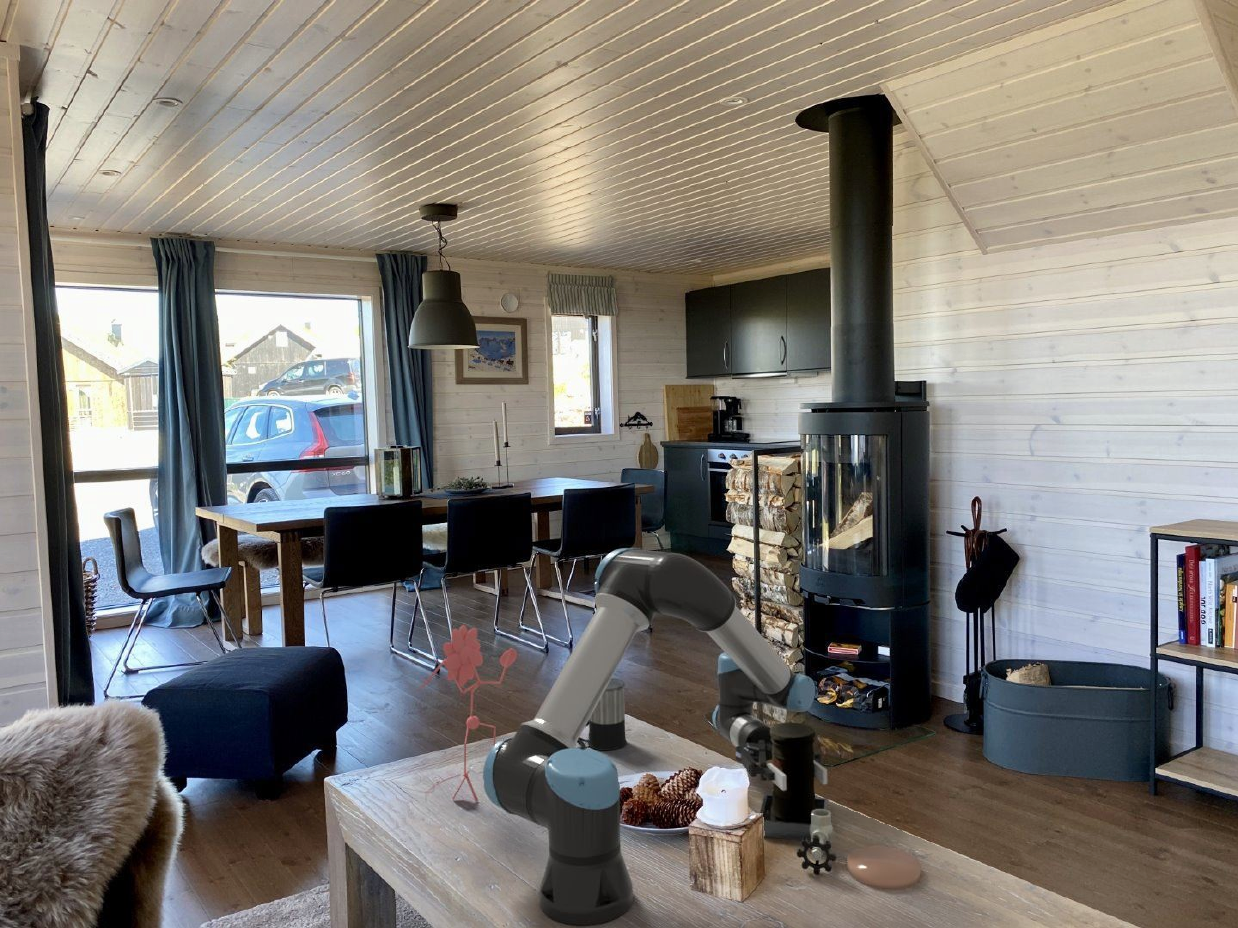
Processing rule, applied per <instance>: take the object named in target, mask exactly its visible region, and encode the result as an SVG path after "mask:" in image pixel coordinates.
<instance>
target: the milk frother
mask: <svg viewBox="0 0 1238 928" xmlns="http://www.w3.org/2000/svg"><path fill="white" fill-rule="evenodd" d="M625 686H626V681H624V680H622V679H619V678H615V677H612V678H611V680H610V682H609V684H608V685H607V687H606V689H605V691H604V693H603V695H602V697H601V698H600V700H599V702H598V704H597V706H596V708H595V709H594V711H593V713H592V715H591V717H590V719H589V720H588V722H587V724H586V726H585V728H586V727H588V728H589V729H588V739H584V738H583V737H581V736H580V737H579V739H578V741H577V743H576V744H578V745H579V748H580V749H581V750H585V749H587V745H586V743H587V744H588V746H589V747H590V748H592V749H595V750H599V751H615V750H618V749H621V748H623V747H625V746H627V738H626V737H627V736H626V724H625V723H626V722H625V721H626V719H625V718H626V717H625V716H626V715H625V713H626V712H625V711H626V710H625V709H626V708H625V706H626V703H625V699H626V698H625V696H626V695H625Z"/></svg>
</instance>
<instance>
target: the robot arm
mask: <svg viewBox="0 0 1238 928" xmlns="http://www.w3.org/2000/svg"><path fill="white" fill-rule="evenodd" d="M594 579H596V581H595V582H594V590H595V593H596V595H595V597H594V598H593V599H594V603H595V606H596V611H595V613H594V614H593V616H592V617H591V619H590V621H589V622H588V624H587V626H586V627H585V629H584V631H583V633H582V635H581V636H580V639H579V640H578V642H577V643H576V645H575V646H574V649H573V650H572V652H571V653H570V656H569V658H568V659H567V661H566V663H565V665H564V666H563V668H562V669H561V671H560V673H559V674H558V676H557V678H556V679H555V682H554V683H553V685H552V687H551V688H550V690H549V692H548V694H547V696H546V697H545V700H544V701H543V703H542V704H541V706H540V707H539V710H538V711H537V713H536V715H535V717H534V718H533V719H532V720H528V721H525V722H522V723H521V724H520V725H519V728H518V729H517V731H516V732H515V734H514V735H513V736H511V737H506V738H503V739H502V740H499V741H497V742H495V745H494V744H493V746H492V747H491V748H490V750H489V752H488V754H487V755H486V757H485V761H484V764H483V769H482V780H483V789H484V792H485V794H486V796H487V798H488V799H489V801H491V803H493V804H494V805H495V806H496V807H498V808H501V809H502V810H503V811H505V812H506V813H507V814H509V815H515V816H518V817H520V818H522V819H525V820H527V821H529V822H531V823H534V824H536V825H539V826H540V827H543V828H545V829H547V831H548V850H549V851H548V854H549V855H548V860H547V862H546V866H545V869H544V873H543V877H542V879H541V883H540V887H539V905H540V908H541V910H542V912H543V913H544V914H545V915H546V916H548V917H549V918H551V919H553V920H554V921H557V922H559V923H562V924H563V923H564V924H567V925H574V926H575V925H576V926H588V925H589V926H590V925H598V924H602V923H605V922H607V923H608V922H609V921H614V919H617V918H619V917H621V916H622V915H624V914H625V913H626V912H627V911H628V910H630V908H631V906H632V905H633V902H634V888H633V887H634V886H633V882H632V878H631V876H630V873H629V870H628V868H627V865H626V861H625V859H624V856H623V855H622V845H621V785H620V783H619V772H618V769H617V768H618V767H617V766H616V764H615V762H614V761H613V760H612V759H611V758H610V757H608V755H606V754H604V753H602V752H599V751H596V750H593V749H589V748H586V749H585V750H581V749H580V748H581V747H577V744H578V743H577V741H578V739H579V737H580V738H581V735H582V733H583V731H584V730H585V728H586V727H587V726H586V724H587V722H588V720H589V719H590V717H591V715H592V713H593V711H594V709H595V708H596V706H597V704H598V702H599V700H600V698H601V697H602V695H603V693H604V691H605V689H606V687H607V685H608V684H609V682H610V680H611V678H613V676H614V674H615V673H616V671H617V669H618V667H619V665H620V663H621V661H622V660H623V658H624V656H625V654H626V652H627V651H628V648H629V646H630V645H631V644H632V641H633V640H634V638H635V635H636V634H637V633H638V632H642V631H645V630H648V628H649V627H650V625H651V623H652V621H653V619H654V617H655V616H656V615H657V614H658V615H664V616H671V617H675V618H678V619H682V620H684V621H686V622H687V623H690V624H691V625H692V626H693V628H694V629H696V630H697V631H699V632H701V633H706V634H708V636H709V637H710V638H711V639H712V640H713V641H714V642H715V643H716V644H717V645H718V646H719V648H721V650H722V651H723V652H722V653H720V655H718V659H717V661H718V663H717V664H718V665H717V671H716V672H717V673H716V674H717V689H718V703H717V704H718V705H716V707H715V709H714V710H713V712H712V724H713V727H714V728H715V729H716V731H717V732H718V733H719V735H720V736H721V737H722V738H724V739H726V740H727V741H729V743H731V745H733V746H734V747H735V760H736V761H738V762H739V763H741V764H742V767H744V768H746V769H747V770H746V769H745V770H746V771H747V773H748V774H749V776H750V777H752V778H755V777H757V775H760V781H763V782H765V781H769V782H770V781H771V782H772V784H773V783H775V784H776V785H777V786H778V787H779V788H780V789H781V790H783V791H784V790H786V775H785V774H784V773H782V772H781V771H780V770H779V769H778V768H776V767H775V766H774V765H773V762H769V763H767V761H773V754H772V749H773V743H772V740H771V738H772V737H771V735H770V729H771V727H769V726H768V725H767V724H765V723H764V722H763V721H762V720H760V719H759V718H757V716H755V715H754V703H758V704H762V705H768V706H771V707H775V708H778V709H783V710H785V711H788V712H791V711H792V712H798V713H805V712H807V711H808V710H809V709H810V708H811V707H812V705H813V702H814V699H815V696H816V687H815V683H814V681H813V679H812V678H811V677H810V676H807V675H804V674H802V673H801V672H799V673H795V672H794V671H793V670H792V669H791V668H790V667H789V666H788V665H787V663H786V661H784V659H782V658H781V656H780V655H779V654H778V653H777V652H776V651H775V650H774V648H773V647H772V645H770V644H769V643H768V641H767V640H766V639H765V638H764V637H763V635H762V634H761V633H760V632H759V631H758V630H757V629H756V627H755V626H754V625H753V623H751V621H750V620H749V619H748V618H747V617H746V616H745V614H744V613H743V612H742V611H741V610H740V609H739V607H738V606H737V601H736V596H735V595H734V594H733V593H732V591H731V590H730V589H729V587H727V585H726V584H725V583H724V582H723V581H722V580H721V579H720V578H719V577H717V575H716V574H714V573H713V572H712V571H711V570H710V569H708V568H707V567H706V566H705V565H703V564H702V563H700V562H699V561H697V560H695V559H694V558H692V557H690V556H687V555H684V554H682V553H677V552H676V553H675V552H665V551H656V550H655V551H654V550H647V549H646V550H645V549H643V548H639V547H629V548H627V547H625V548H618V549H615V550H613V551H611V552H610V553H608V554H607V555H606V556H605V557H603V559H602V560H601V561H600V563H599V565H598V566H597V569H596V572H595V575H594ZM585 726H586V727H585ZM813 750H814V749H813ZM822 758H823V755H822V753H820V752H819V751H816V750H814V779H816V780H817V781H818V782H819V783H820V784H822V785H828V769H827V768H826V767H825V766H824V765H823V760H822ZM757 763H758V764H757Z"/></svg>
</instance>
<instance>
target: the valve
mask: <svg viewBox="0 0 1238 928" xmlns="http://www.w3.org/2000/svg"><path fill="white" fill-rule="evenodd" d="M831 822H832V813H831V811H830V810H829V809H828V810H825V809H815V810H812V813H811V824H810V828H809V832H810V836H811V841H810V842H808V841H807V839H806V838H804V839H802V840H801V842H800V843H801V844H800V845H801V846H802V847H803V848H804V849H802V850H801V848H798V849H797V851H796V856H797V857H798V858H801V859H804V860H803V861H802V862H801V868H802V869H804V870H807V869H809V868H812V869H813V871H812V872H813V873H812V874H814V875H815V876H818V875H820V874H821V869H824V870H825V872H827V873H830V872H832V870H833V866H832V864H831V863H830V862H835V861H837V857H838V856H837V853H836V852H832V853H830V852H831V851H832V845H833V843H832V839H833V836H834V827H833V824H832V823H831ZM808 850H811V851H810V855H811V858H812V859H813V860H814V861H815V863H814V862H812V861H811V860H810V859H809V858H808V854H807V852H808ZM824 853H825V855H826V856H825V857H826V858H825V861H823V862H822V863H820V860H821V859H822V858H823V856H824V855H823V854H824ZM829 863H830V864H829Z"/></svg>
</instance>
